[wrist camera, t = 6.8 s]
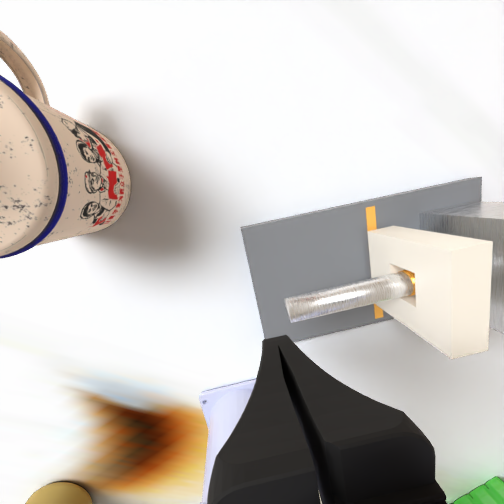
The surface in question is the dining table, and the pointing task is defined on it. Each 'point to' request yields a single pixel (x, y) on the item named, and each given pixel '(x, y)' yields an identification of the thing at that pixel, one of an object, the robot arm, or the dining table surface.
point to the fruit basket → (485, 494)
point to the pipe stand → (403, 282)
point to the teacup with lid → (51, 166)
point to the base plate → (333, 254)
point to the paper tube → (60, 494)
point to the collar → (438, 286)
